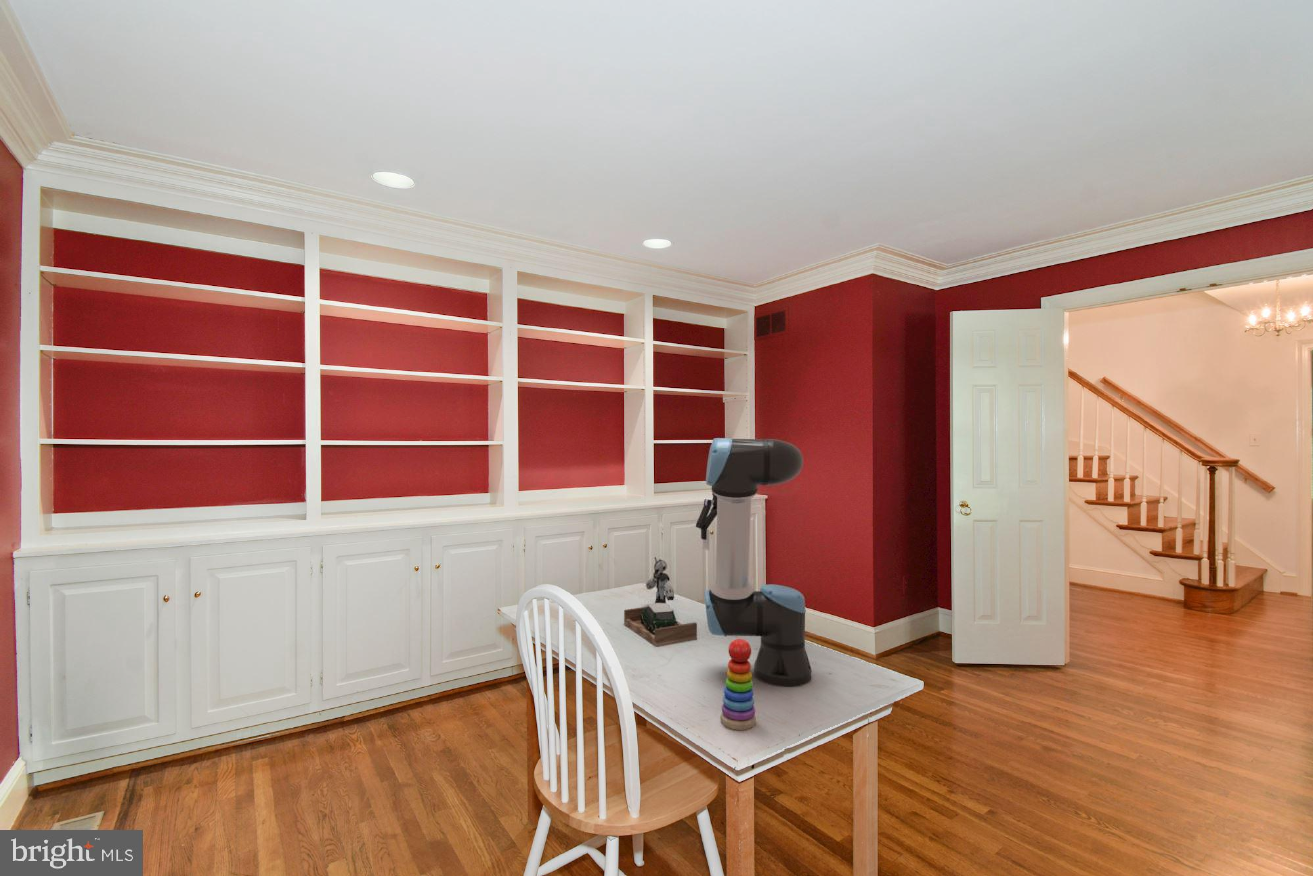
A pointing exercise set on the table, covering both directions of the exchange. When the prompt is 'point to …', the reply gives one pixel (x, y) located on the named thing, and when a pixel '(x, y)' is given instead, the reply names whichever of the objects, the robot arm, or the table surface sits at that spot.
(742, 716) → the stacking toy
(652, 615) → the miniature car
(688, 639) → the cradle
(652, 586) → the robot
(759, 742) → the table surface
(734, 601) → the robot arm
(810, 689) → the table surface
